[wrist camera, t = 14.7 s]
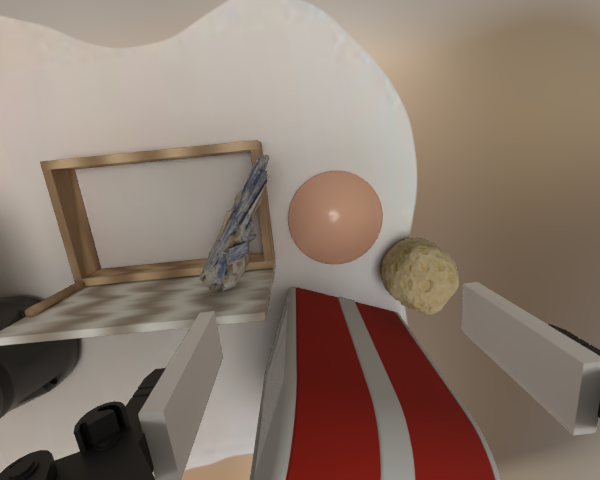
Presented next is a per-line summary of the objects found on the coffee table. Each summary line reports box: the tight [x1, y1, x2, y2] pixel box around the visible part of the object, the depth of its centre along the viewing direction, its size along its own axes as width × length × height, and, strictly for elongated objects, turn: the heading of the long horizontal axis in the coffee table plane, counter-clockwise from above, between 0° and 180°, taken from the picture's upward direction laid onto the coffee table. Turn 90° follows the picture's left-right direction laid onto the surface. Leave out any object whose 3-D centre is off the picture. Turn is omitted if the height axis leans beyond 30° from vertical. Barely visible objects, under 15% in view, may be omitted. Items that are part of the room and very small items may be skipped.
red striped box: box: [250, 287, 501, 480], centre depth 34 cm, size 17×18×27 cm
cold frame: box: [0, 140, 276, 346], centre depth 34 cm, size 26×17×16 cm, turn 95°
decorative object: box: [381, 238, 459, 315], centre depth 40 cm, size 9×10×10 cm
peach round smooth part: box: [288, 171, 383, 264], centre depth 42 cm, size 13×13×1 cm
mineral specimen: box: [199, 155, 269, 292], centre depth 33 cm, size 15×8×4 cm
